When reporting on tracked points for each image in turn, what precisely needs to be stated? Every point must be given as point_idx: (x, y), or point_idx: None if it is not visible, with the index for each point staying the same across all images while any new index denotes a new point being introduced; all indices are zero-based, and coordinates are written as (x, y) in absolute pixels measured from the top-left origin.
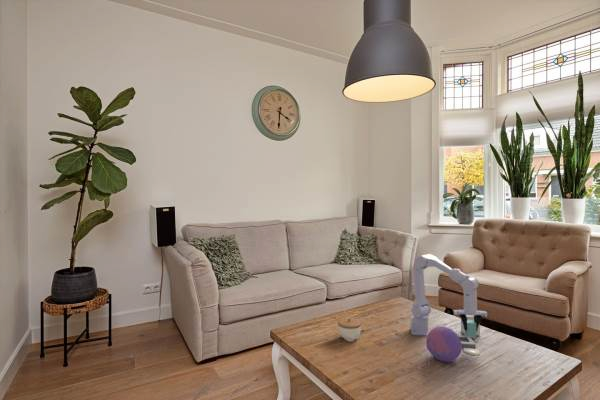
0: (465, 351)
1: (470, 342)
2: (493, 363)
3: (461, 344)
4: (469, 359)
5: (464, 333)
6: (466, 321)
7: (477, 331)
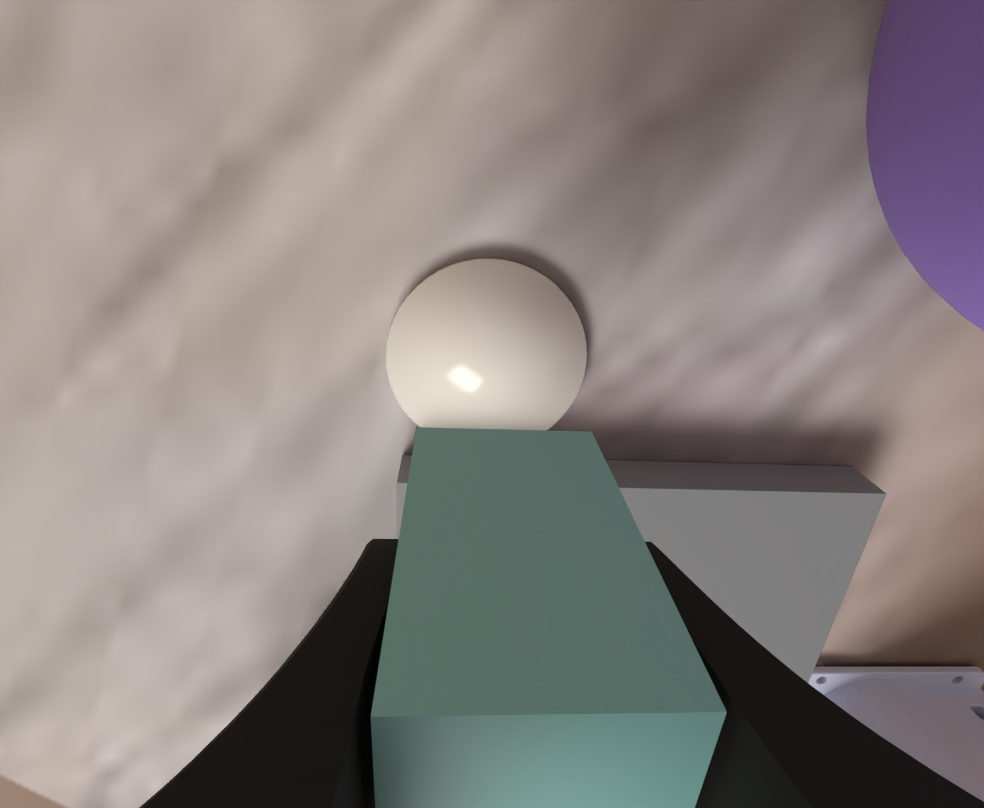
0: (576, 338)
1: None
2: (283, 5)
3: None
4: (609, 115)
5: None
6: (808, 771)
7: None
